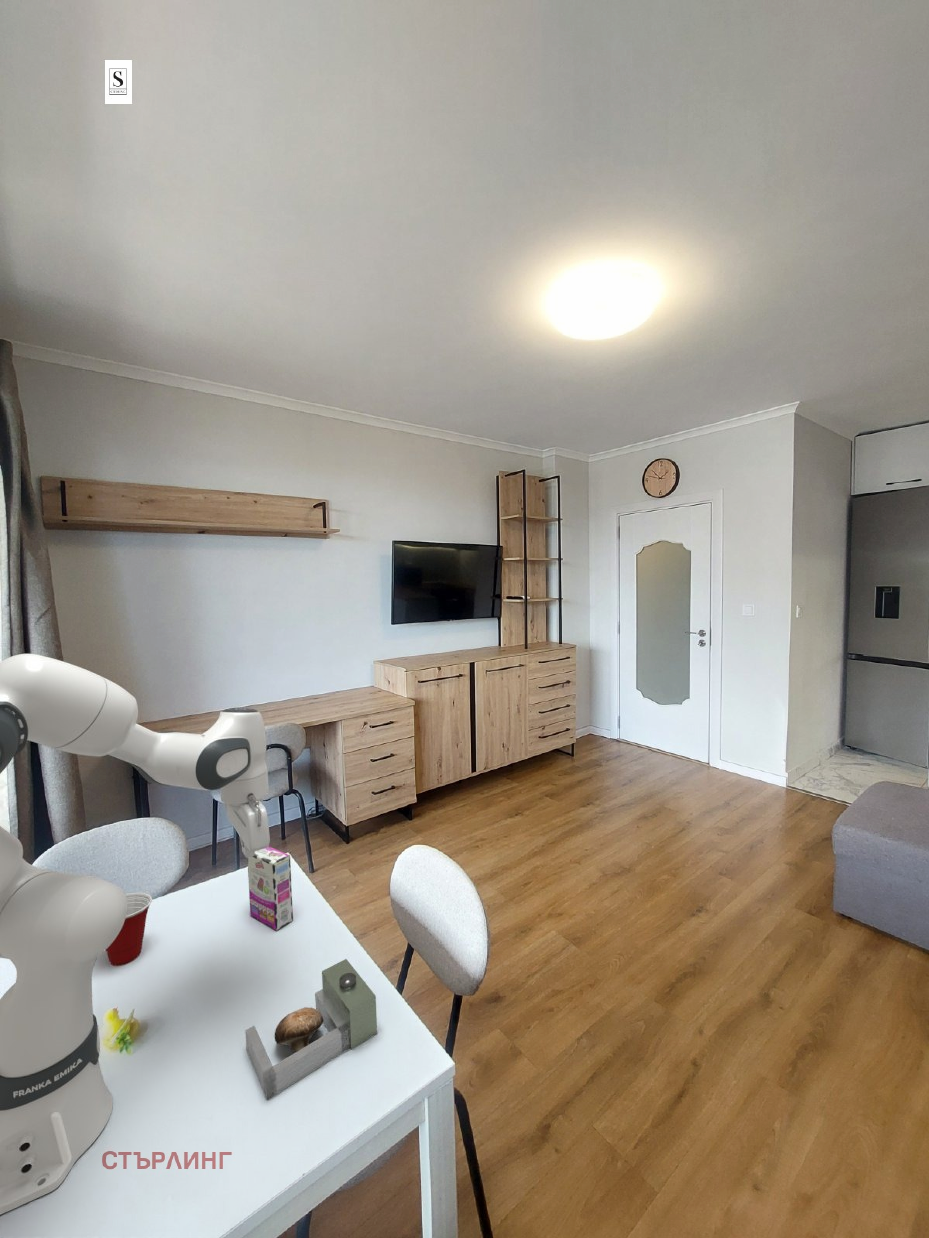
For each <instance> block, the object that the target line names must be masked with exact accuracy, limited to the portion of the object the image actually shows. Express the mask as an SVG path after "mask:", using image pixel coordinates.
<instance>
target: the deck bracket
mask: <svg viewBox="0 0 929 1238" xmlns="http://www.w3.org/2000/svg"><path fill="white" fill-rule="evenodd" d="M321 980H322V983H321V984H322V988H321V989H320V990H318V991H317V992H315V993H314V996H315V997H314V998H315V1009H316V1010H318V1011H319V1012H320V1013H321V1015H322V1017H323V1023H322V1024H323V1025H324V1026H325V1028H326V1029H327V1031H328V1033H326V1034H324V1035H323V1036H321V1037H319V1038H318V1039H316V1040H314V1041H313V1042H311V1043H308V1046H306V1047H304V1048H302V1049H301V1050H299V1051H295V1052H294V1053H292V1054H291V1055H290V1056H288V1057H285V1058H284V1059H283V1060H281V1061H279V1062H278V1063H276V1064H274V1065H273V1064H272V1061H271V1059H270V1057H269V1055H268V1053H267V1050H266V1048H265V1046H264V1043H263V1042H262V1039H261V1037H260V1035H259V1033H258V1030H257V1029H256V1025H252V1026H251V1027H249V1028H247V1029H245V1030H244V1031H245V1047H246V1052H247V1054H248V1058H249V1059H250V1061H251V1064H252V1067H253V1069H254V1071H255V1074H256V1077H257V1079H258V1082H259V1085H260V1086H261V1089H262V1092H263V1094H264V1095H265V1099H266V1101H269V1100H270V1099H271V1098H273V1097H275V1096H276V1095H278V1094H279V1093H281V1092H283V1091H284V1090H286V1089H288V1088H289V1087H291V1086H292V1085H294V1084H295V1083H297V1082H299V1081H300V1080H301V1079H303V1078H305V1077H306V1076H308V1075H309V1074H311V1073H313V1072H315V1071H317V1070H318V1069H320V1067H322V1066H324V1065H325V1064H327V1063H329V1062H330V1061H332V1060H334V1059H335V1058H337V1057H338V1056H340V1055H342V1054H343V1053H344V1052H346V1051H348V1050H351V1051H352V1050H354V1049H355V1048H357V1047H358V1046H360V1045H361V1044H363V1043H364V1042H366V1041H368V1040H369V1039H371V1038H372V1037H374V1036H376V1035H377V1034H378V1021H377V1019H378V1018H377V997H376V996H377V995H376V994H375V993H374V992H373V990H372V989H371V988H370V987H369V985H368V984H367V983H366V982H365V980H364V979H363V977H362V976H360V974H359V973H358V972H357V970H356V969H355V968H354V966H353V965H352V964H351V963H350V961H348V959H347V958H345V959H343V960H341V961H339V962H337V963H336V964H333V965H331V966H329V967H327V968H326V969H323V970H322V971H321Z"/></svg>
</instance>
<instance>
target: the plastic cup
mask: <svg viewBox="0 0 929 1238" xmlns="http://www.w3.org/2000/svg"><path fill="white" fill-rule="evenodd" d="M125 895H126V899H127V913H126V918H125V921H124V924H123V926H122V928H121V930H120V932H119V934H118V936H117V937H116V939H115V940H114V941H113V942H112V944H111V945H110V946H109V947H108V948H107V949H106V950H105V952H106V954H107V958H108V962H109V963H110V965H112V966H113V967H114V966H115V967H116V966H117V967H119V966H124V965H126V964H129V963H131V962H133V961H135V960H136V959H137V958H138V957H140V954H142V953H141V952H142V949H143V942H144V941H143V939H144V936H145V929H146V923H147V915H148V910H149V909H150V906H151V904H152V902H153V898H152V897H153V896H152V895H151V894H148V893H146V892H131V893H125Z"/></svg>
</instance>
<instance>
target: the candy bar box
mask: <svg viewBox="0 0 929 1238" xmlns="http://www.w3.org/2000/svg"><path fill="white" fill-rule="evenodd" d="M291 868H292V867H291V855H290V854H288V853H285V852H284V851H281V850H278V849H276V848H274V847H271V846H270V845H269V846H268V847H267V848H264V849H261V850H258V851H255V855H254V856H253V857H250V858H247V874H248V875H247V876H248V891H249V892H248V894H249V895H248V898H249V914H250V917H252V918H254V919H255V920H256V921H258V922H261V923H262V924H264V925H265V926H267V927H269V928H271V929H273V930H275V931H276V932H277V931H279V930H281V929H282V928H284V927H285V926H287V925H289V924H290V923H292V922H293V921H294V913H293V896H292V895H293V891H292V873H291V872H292V869H291Z"/></svg>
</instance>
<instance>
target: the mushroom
mask: <svg viewBox="0 0 929 1238" xmlns="http://www.w3.org/2000/svg"><path fill="white" fill-rule="evenodd" d="M323 1024H324V1023H323V1017H322V1015H321V1013H320V1012H319V1011H318V1010H316V1008H313V1007H307V1006H306V1007H303V1008H300V1009H297V1010H295V1011H293V1012H290V1013H288V1014H286V1016H284V1017H283V1018H282V1019H281V1020H280V1021H279V1022H278V1024H277V1026H276V1028H275V1030H274V1041H275V1043H276V1044H277V1045H288V1046H289V1047H290V1049H291V1051H295V1052H297V1051H299V1050H301V1049H302V1048H304V1047H306V1046H308V1045H309V1041H310V1039H311V1037H312V1036H313V1034H314V1033H315V1032H316V1031H318V1030H319V1029H320V1028H321V1026H322V1025H323Z"/></svg>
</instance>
